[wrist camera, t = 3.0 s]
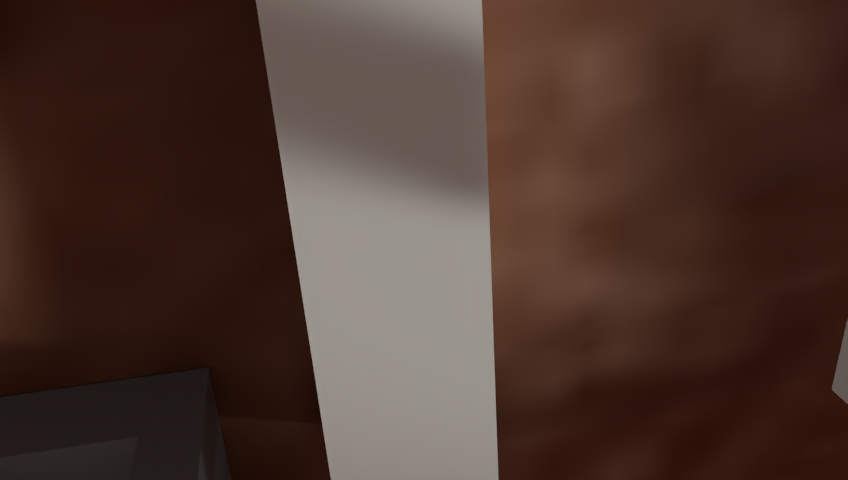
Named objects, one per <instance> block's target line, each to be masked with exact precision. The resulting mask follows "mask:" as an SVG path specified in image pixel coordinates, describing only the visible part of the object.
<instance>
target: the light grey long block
mask: <svg viewBox="0 0 848 480" xmlns="http://www.w3.org/2000/svg"><path fill="white" fill-rule="evenodd" d="M256 6H257V12H258V18H259V25H260V31H261V37H262V44H263V50H264V57H265V63H266V69H267V76H268V82H269V88H270V95H271V101H272V108H273V114H274V120H275V127H276V133H277V139H278V146H279V152H280V159H281V165H282V171H283V178H284V184H285V190H286V197H287V203H288V210H289V216H290V222H291V229H292V235H293V241H294V248H295V254H296V261H297V267H298V273H299V280H300V286H301V292H302V299H303V305H304V312H305V318H306V324H307V331H308V337H309V343H310V350H311V356H312V363H313V369H314V375H315V382H316V388H317V394H318V401H319V407H320V414H321V420H322V426H323V433H324V439H325V445H326V452H327V458H328V465H329V471H330V477H331V480H499V479H498V451H497V422H496V394H495V365H494V337H493V308H492V279H491V251H490V222H489V194H488V165H487V137H486V108H485V80H484V51H483V23H482V0H256Z"/></svg>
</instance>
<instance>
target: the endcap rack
mask: <svg viewBox="0 0 848 480" xmlns="http://www.w3.org/2000/svg"><path fill="white" fill-rule="evenodd" d="M0 480H231V475H230V470H229V465H228V460H227V455H226V450H225V445H224V440H223V436H222V431H221V426H220V421H219V416H218V411H217V406H216V401H215V396H214V391H213V386H212V381H211V376H210V371H209V367H208V368H201V369H194V370H187V371H180V372H173V373H166V374H159V375H152V376H145V377H138V378H131V379H124V380H117V381H110V382H103V383H96V384H89V385H82V386H75V387H68V388H61V389H54V390H47V391H40V392H33V393H26V394H19V395H12V396H5V397H0Z"/></svg>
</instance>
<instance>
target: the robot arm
mask: <svg viewBox="0 0 848 480" xmlns="http://www.w3.org/2000/svg"><path fill="white" fill-rule="evenodd" d="M832 390H833V391H834V392H835V393H836V394H837V395H838V396H839V397H840V398H841V399H843V400H844V401H845V402H846V403H847V404H848V319H847V323H846V328H845V332H844V336H843V341H842V345H841V350H840V354H839V358H838V363H837V367H836V372H835V376H834V381H833V385H832Z"/></svg>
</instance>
